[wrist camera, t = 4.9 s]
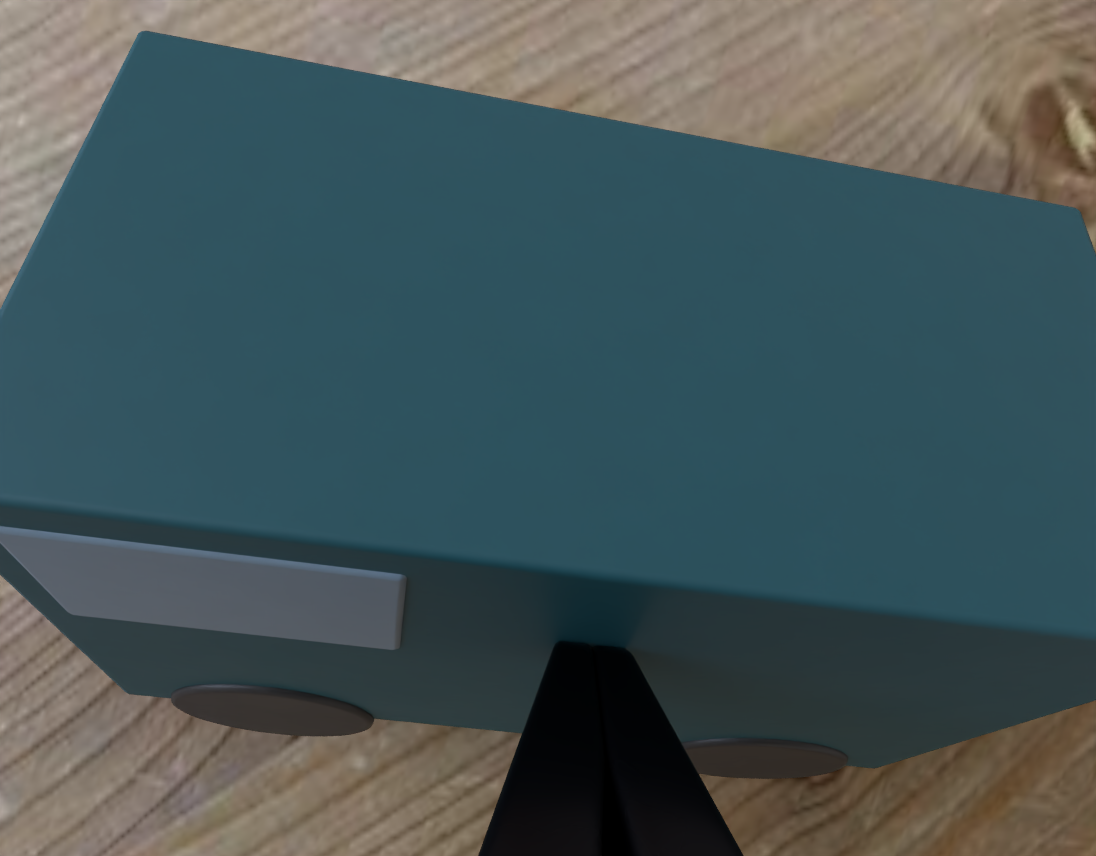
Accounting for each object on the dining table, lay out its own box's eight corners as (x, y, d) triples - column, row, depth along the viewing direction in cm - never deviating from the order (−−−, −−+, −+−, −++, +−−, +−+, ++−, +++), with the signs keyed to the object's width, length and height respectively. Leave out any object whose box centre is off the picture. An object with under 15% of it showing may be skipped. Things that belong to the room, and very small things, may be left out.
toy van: (803, 483, 18) (1080, 199, 11) (836, 788, 15) (1249, 668, 8) (239, 403, 17) (140, 20, 10) (145, 722, 14) (-104, 502, 7)
